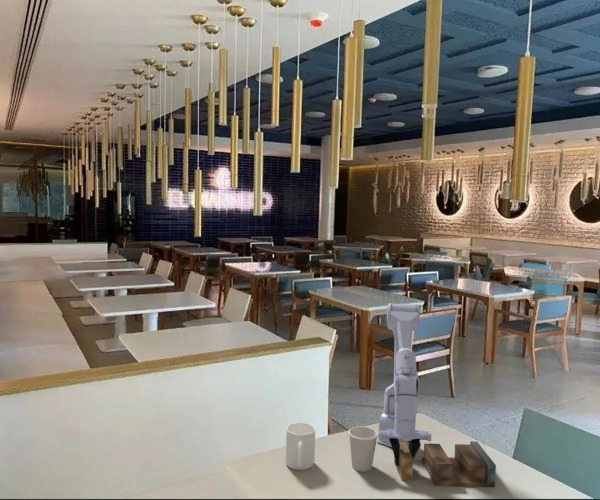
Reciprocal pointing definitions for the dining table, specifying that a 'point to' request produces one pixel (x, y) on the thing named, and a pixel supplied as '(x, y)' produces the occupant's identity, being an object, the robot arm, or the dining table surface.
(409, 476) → the tall tan pillar
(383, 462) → the dining table surface
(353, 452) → the dixie cup
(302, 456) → the mug
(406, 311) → the robot arm
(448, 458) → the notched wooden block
